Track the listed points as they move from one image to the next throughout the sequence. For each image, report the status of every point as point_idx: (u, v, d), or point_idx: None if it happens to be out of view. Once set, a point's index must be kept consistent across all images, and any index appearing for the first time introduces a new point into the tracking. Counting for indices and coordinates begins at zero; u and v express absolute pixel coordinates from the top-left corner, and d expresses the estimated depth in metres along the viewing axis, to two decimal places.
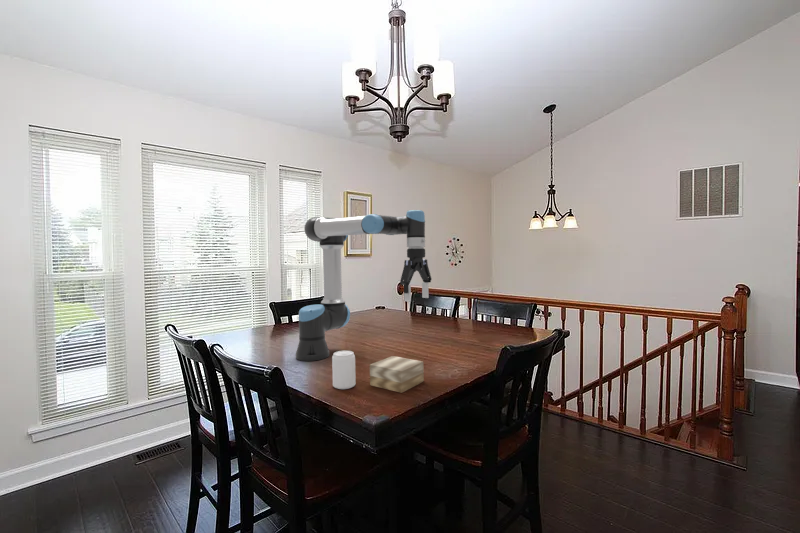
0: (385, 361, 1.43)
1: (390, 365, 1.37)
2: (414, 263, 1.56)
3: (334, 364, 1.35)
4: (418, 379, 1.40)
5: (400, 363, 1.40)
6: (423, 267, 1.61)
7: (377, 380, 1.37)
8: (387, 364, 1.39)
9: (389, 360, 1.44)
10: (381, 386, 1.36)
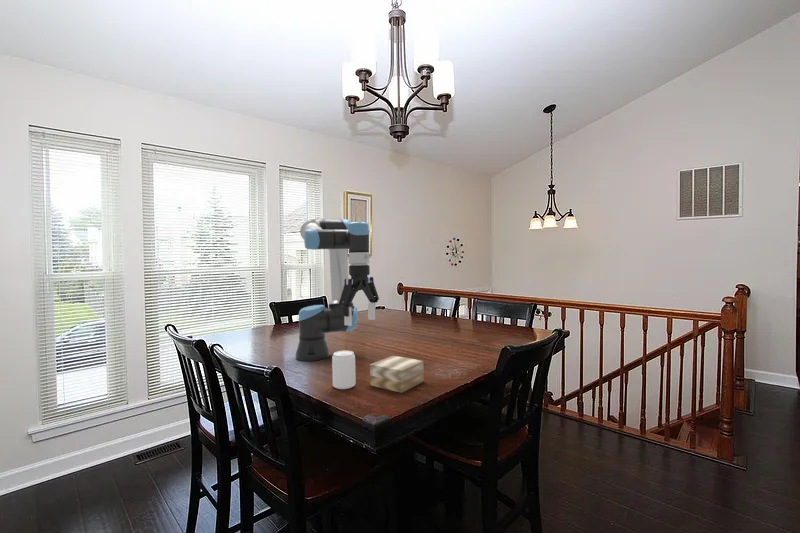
0: (386, 360, 1.43)
1: (390, 365, 1.37)
2: (356, 282, 1.39)
3: (334, 364, 1.35)
4: (418, 378, 1.40)
5: (400, 363, 1.40)
6: (368, 286, 1.43)
7: (376, 380, 1.37)
8: (387, 364, 1.39)
9: (389, 360, 1.44)
10: (381, 386, 1.36)
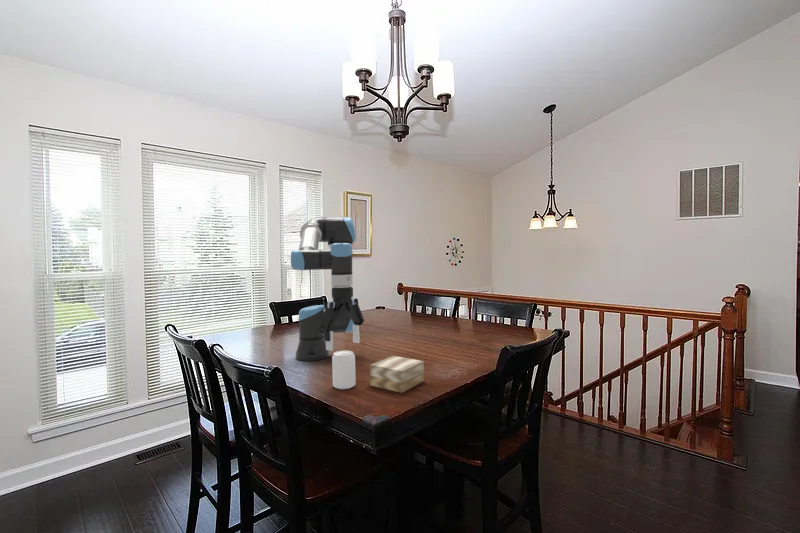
0: (386, 361, 1.43)
1: (390, 365, 1.37)
2: (338, 305, 1.34)
3: (334, 364, 1.35)
4: (418, 379, 1.40)
5: (401, 363, 1.40)
6: (351, 308, 1.39)
7: (376, 380, 1.37)
8: (388, 364, 1.39)
9: (389, 360, 1.43)
10: (381, 386, 1.36)
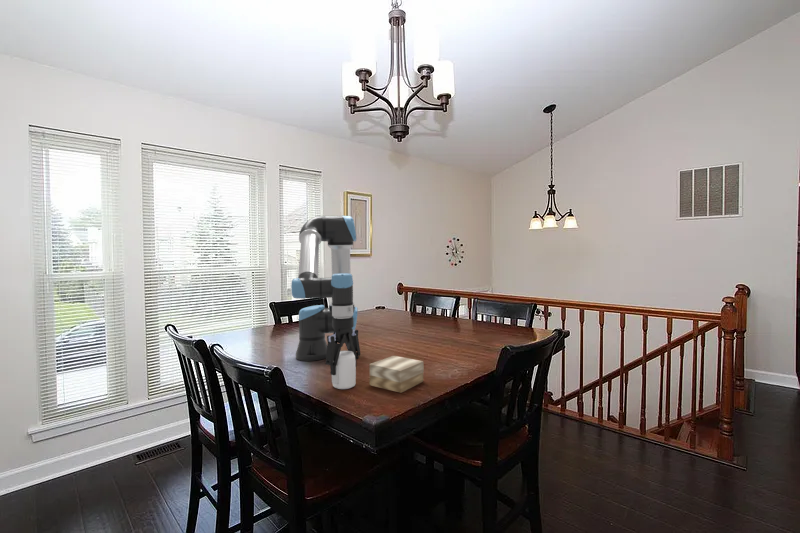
0: (386, 360, 1.43)
1: (389, 365, 1.37)
2: (339, 336, 1.35)
3: None
4: (418, 379, 1.40)
5: (400, 363, 1.40)
6: (351, 339, 1.39)
7: (376, 380, 1.37)
8: (387, 364, 1.39)
9: (389, 360, 1.44)
10: (381, 386, 1.36)
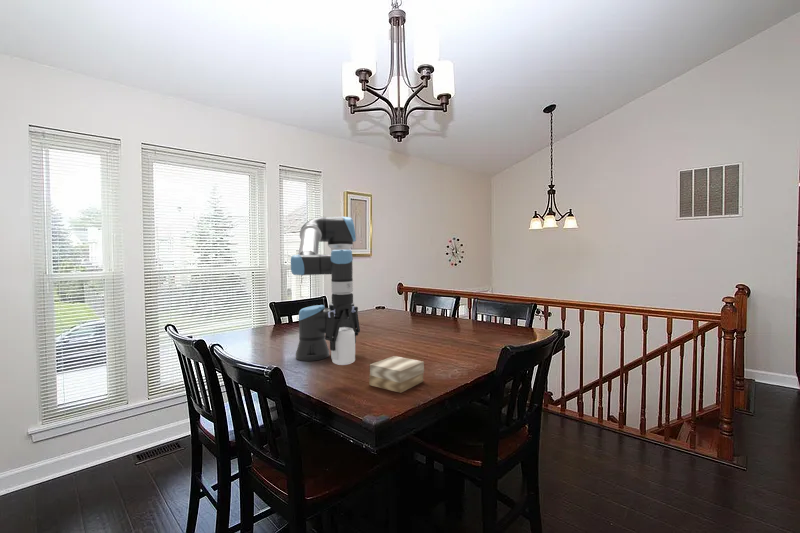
0: (386, 361, 1.43)
1: (389, 365, 1.37)
2: (338, 311, 1.35)
3: None
4: (418, 379, 1.40)
5: (401, 363, 1.40)
6: (350, 316, 1.39)
7: (376, 380, 1.37)
8: (387, 364, 1.39)
9: (390, 360, 1.44)
10: (380, 386, 1.36)
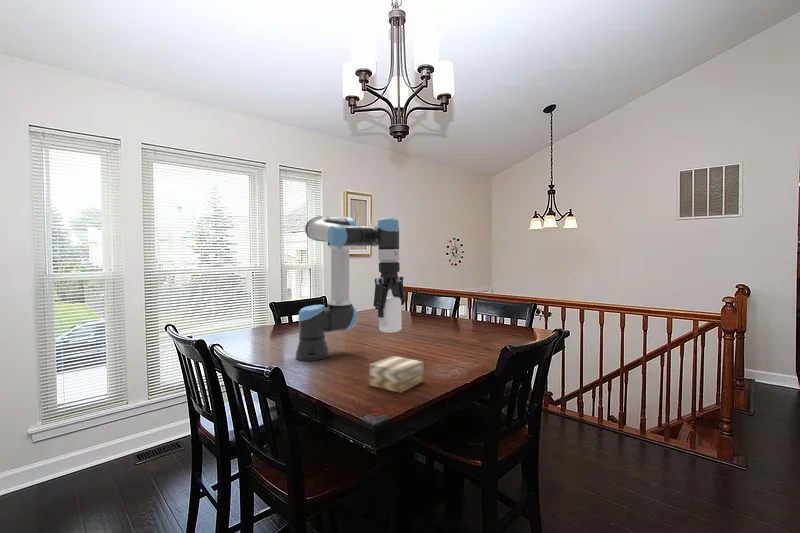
0: (386, 361, 1.43)
1: (389, 365, 1.37)
2: (386, 279, 1.36)
3: None
4: (418, 379, 1.40)
5: (400, 363, 1.40)
6: (397, 284, 1.40)
7: (376, 380, 1.37)
8: (387, 364, 1.39)
9: (389, 360, 1.44)
10: (380, 386, 1.36)
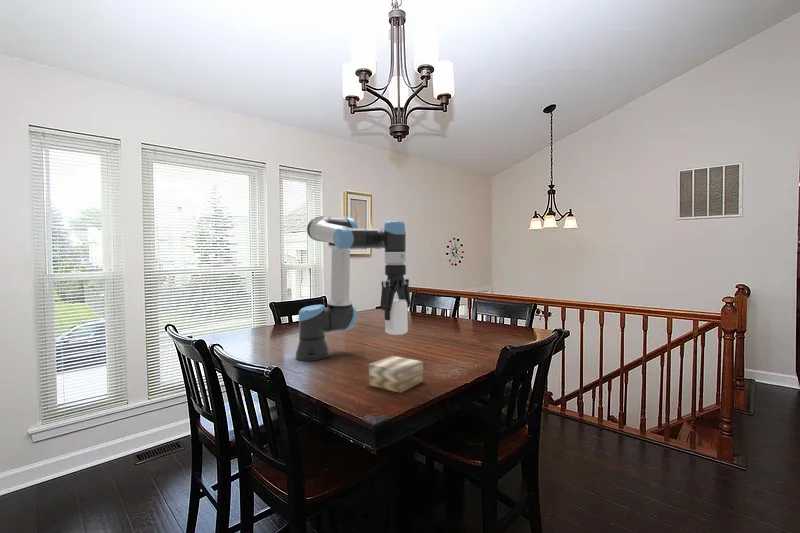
0: (385, 360, 1.43)
1: (389, 365, 1.37)
2: (393, 282, 1.37)
3: None
4: (418, 379, 1.40)
5: (400, 363, 1.40)
6: (403, 287, 1.41)
7: (376, 380, 1.37)
8: (386, 364, 1.39)
9: (389, 360, 1.44)
10: (380, 386, 1.36)
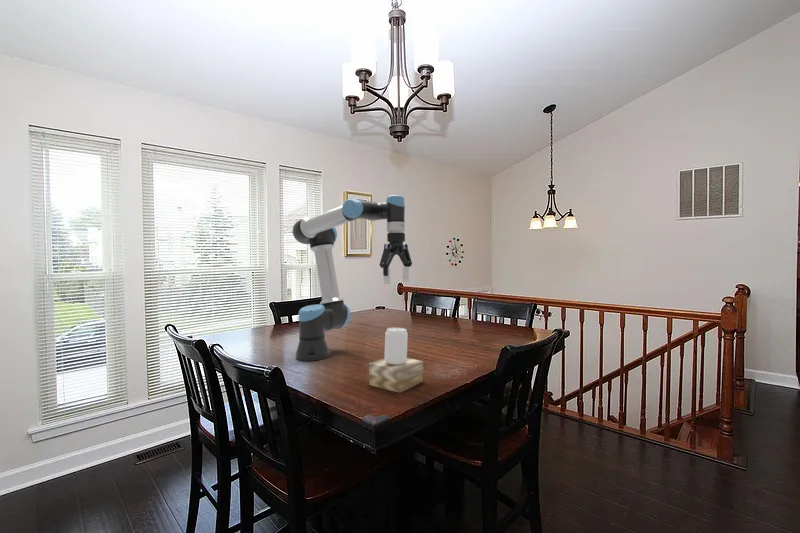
0: None
1: (388, 364, 1.38)
2: (394, 247, 1.60)
3: (387, 339, 1.37)
4: (417, 378, 1.40)
5: None
6: (403, 251, 1.65)
7: (375, 379, 1.38)
8: (386, 363, 1.39)
9: None
10: (380, 385, 1.36)
